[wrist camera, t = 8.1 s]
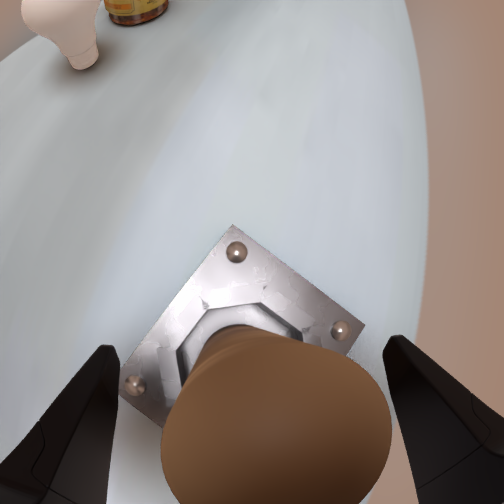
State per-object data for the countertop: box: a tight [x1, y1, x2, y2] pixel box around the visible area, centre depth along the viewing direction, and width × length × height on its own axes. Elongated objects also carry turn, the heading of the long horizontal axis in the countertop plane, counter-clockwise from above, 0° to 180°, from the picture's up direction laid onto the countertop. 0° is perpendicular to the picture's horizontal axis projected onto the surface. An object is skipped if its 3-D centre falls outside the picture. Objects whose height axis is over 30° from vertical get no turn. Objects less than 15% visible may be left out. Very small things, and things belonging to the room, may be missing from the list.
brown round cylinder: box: [161, 324, 392, 504], centre depth 11 cm, size 4×4×12 cm
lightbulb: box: [21, 0, 101, 70], centre depth 16 cm, size 6×6×11 cm
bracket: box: [119, 224, 365, 429], centre depth 16 cm, size 12×10×4 cm
